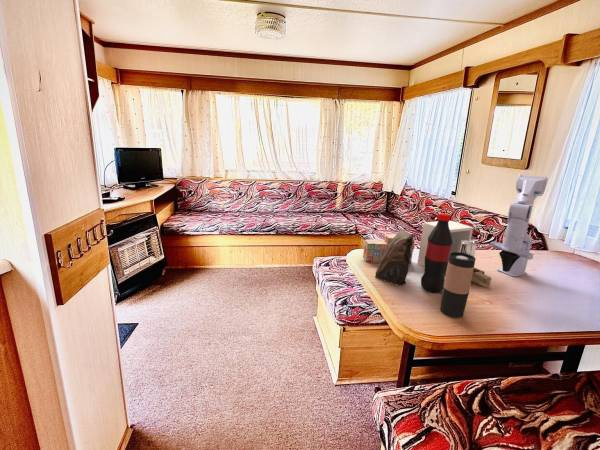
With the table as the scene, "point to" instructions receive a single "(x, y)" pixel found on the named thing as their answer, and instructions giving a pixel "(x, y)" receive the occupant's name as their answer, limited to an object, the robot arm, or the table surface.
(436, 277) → the cola bottle
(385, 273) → the owl
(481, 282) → the wooden post with crossbar
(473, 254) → the metal cup
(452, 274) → the travel mug
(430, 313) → the table surface
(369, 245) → the stack of blocks
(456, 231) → the tall white box
